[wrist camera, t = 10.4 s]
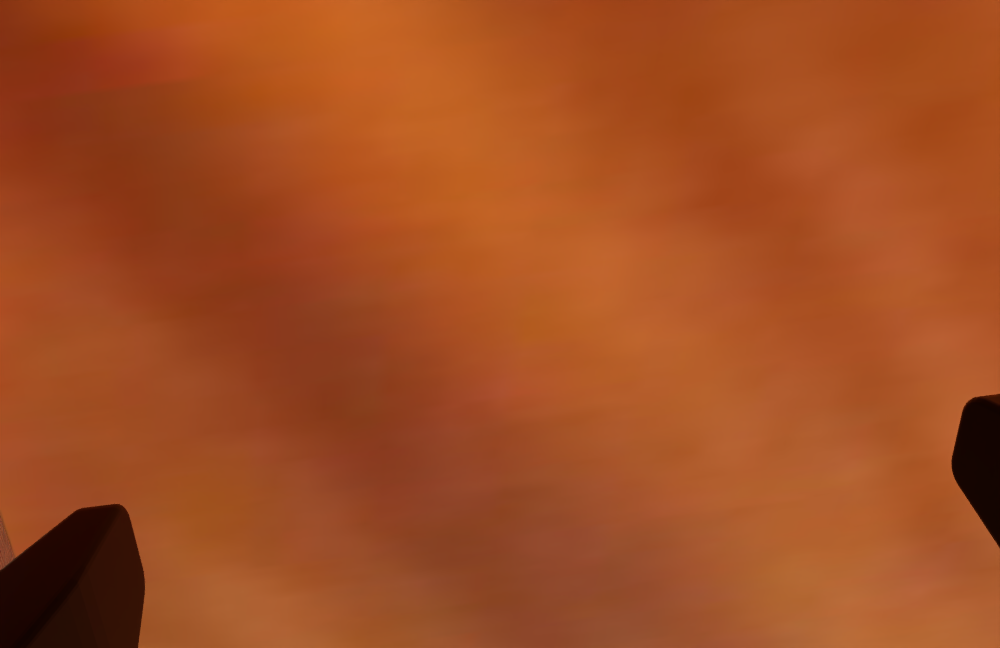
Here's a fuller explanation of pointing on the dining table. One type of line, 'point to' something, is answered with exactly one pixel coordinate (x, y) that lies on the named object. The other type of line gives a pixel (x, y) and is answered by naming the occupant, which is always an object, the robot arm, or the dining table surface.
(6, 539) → the square hole board
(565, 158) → the dining table surface
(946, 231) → the dining table surface
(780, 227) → the dining table surface
